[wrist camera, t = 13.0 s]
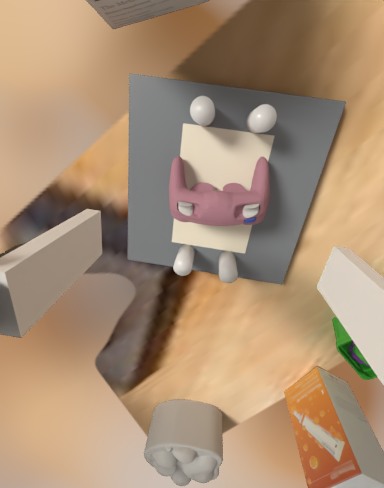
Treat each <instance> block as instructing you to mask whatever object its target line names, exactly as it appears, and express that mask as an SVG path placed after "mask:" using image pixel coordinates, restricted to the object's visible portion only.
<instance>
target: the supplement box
mask: <svg viewBox="0 0 384 488" xmlns="http://www.w3.org/2000/svg"><path fill="white" fill-rule="evenodd" d="M86 1H87V2H88V3H89V4H90V5H91V6H92V7H93V8H94V9H95V10H96V11H97V13H98V14H99V15H100V16H101V17H102V18H103V19H104V20H105V21H106V22H107V23H108V24H109V25H110V26H111V28H112V29H116V28H119V27H123V26H126V25H130V24H133V23H137V22H140V21H144V20H147V19H150V18H154V17H157V16H161V15H164V14H167V13H171V12H174V11H178V10H181V9H184V8H188V7H191V6H195V5H198V4H201V3H204V2H207V1H209V0H86Z"/></svg>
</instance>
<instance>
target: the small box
mask: <svg viewBox="0 0 384 488" xmlns="http://www.w3.org/2000/svg"><path fill="white" fill-rule="evenodd" d="M284 393H285V397H286V401H287V405H288V409H289V413H290V418H291V421H292V426H293V429H294V433H295V437H296V441H297V445H298V449H299V453H300V458H301V461H302V466H303V469H304V473H305V478H306V481H307V486H308V488H384V452H383V450H382V448H381V446H380V444H379V442H378V440H377V438H376V436H375V434H374V432H373V430H372V429H371V427H370V425H369V423H368V421H367V419H366V417H365V415H364V414H363V411H362V409H361V407H360V405H359V404H358V402H357V400H356V398H355V396H354V394H353V392H352V390H351V388H350V386H349V385H348V383H347V382H346V381H344V380H342V379H341V378H339V377H337V376H335V375H333V374H331V373H329V372H327V371H325V370H323V369H322V368H320V367H317V366H316V367H315V368H314V369H313V370H312V371H311V372H309V373H308V374H307V375H305V376H304V377H303V378H302V379H300V380H299V381H298V382H296V383H295V384H294V385H292V386H291V387H290V388H288V389H287V390H285V391H284Z"/></svg>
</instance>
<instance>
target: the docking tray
mask: <svg viewBox="0 0 384 488" xmlns="http://www.w3.org/2000/svg"><path fill="white" fill-rule="evenodd" d="M345 104H346V102H345V101H337V100H329V99H322V98H314V97H306V96H299V95H291V94H283V93H275V92H268V91H260V90H252V89H245V88H237V87H229V86H222V85H214V84H206V83H199V82H191V81H183V80H176V79H168V78H160V77H152V76H145V75H137V74H129V172H128V260H135V261H141V262H147V263H153V264H159V265H165V266H172V267H173V268H174V271H175V272H176V273H177V274H178V275H181V276H185V275H188V274H189V273H190V272H191V270H196V271H202V272H209V273H215V274H219V278H220V279H221V281H223V282H225V283H232V282H234V281H235V280H236V279H237V277H240V278H246V279H252V280H258V281H264V282H270V283H277V284H282V283H283V281H284V278H285V275H286V272H287V269H288V266H289V263H290V261H291V258H292V255H293V252H294V249H295V246H296V244H297V241H298V238H299V235H300V232H301V229H302V226H303V224H304V221H305V218H306V215H307V212H308V209H309V206H310V204H311V201H312V198H313V195H314V192H315V189H316V186H317V184H318V181H319V178H320V175H321V172H322V169H323V166H324V164H325V161H326V158H327V155H328V152H329V149H330V146H331V144H332V141H333V138H334V135H335V132H336V129H337V127H338V124H339V121H340V118H341V115H342V112H343V109H344V107H345ZM176 156H180V157H181V158H182V160H183V164H184V170H185V182H186V186H187V188H188V190H190V189H191V188H192V187H193V186H194V185H195V184H197V183H200V182H205V183H209V184H211V185H212V186H213V187H214V191H223V187H224V186H225V185H226V184H229V183H238V184H241V185H242V186H243V187H244V188H245V189H246V190H247V191H249V190H250V189H251V184H252V179H253V174H254V170H255V167H256V164H257V161H258V159H259V158H260V157H265V158H266V159H267V161H268V164H269V179H270V198H269V204H268V209H267V211H266V214H265V217H264V219H263V220H262V221H261V222H260V223H258V224H255V225H244V224H240V225H232V226H210V225H202V224H197V223H192V222H181V221H178V220H176V219H175V218H174V217H173V216H172V215H171V211H170V206H169V182H170V174H171V166H172V162H173V160H174V158H175V157H176Z"/></svg>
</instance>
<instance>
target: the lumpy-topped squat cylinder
mask: <svg viewBox="0 0 384 488" xmlns="http://www.w3.org/2000/svg"><path fill="white" fill-rule="evenodd" d="M222 447H223V445H222V412H221V410H220V409H219V408H217V407H216V406H214V405H211V404H207V403H203V402H198V401H193V400H185V399H175V400H169V401H165V402H162V403H160V404H159V405H157V406H156V407H155V408H154V412H153V416H152V421H151V425H150V429H149V434H148V438H147V443H146V447H145V451H144V457H145V459H146V460H147V462H148V463H150V464H151V465H152V466H153V467H154V468H155V469H156V470H157V472H158V473H160V474H161V475H163V476H171V479H172V480H173V481H174V482H175V483H176V484H177V485H179V486H185V485H187V484H188V483H189V482H190V481H191V479H193V480H195V481H197V482H200V483H207V482H209V481H210V480H213V479H215V478H217V476H218V474H219V466H220V465H221V464H222V461H223V455H222V454H223V448H222Z"/></svg>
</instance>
